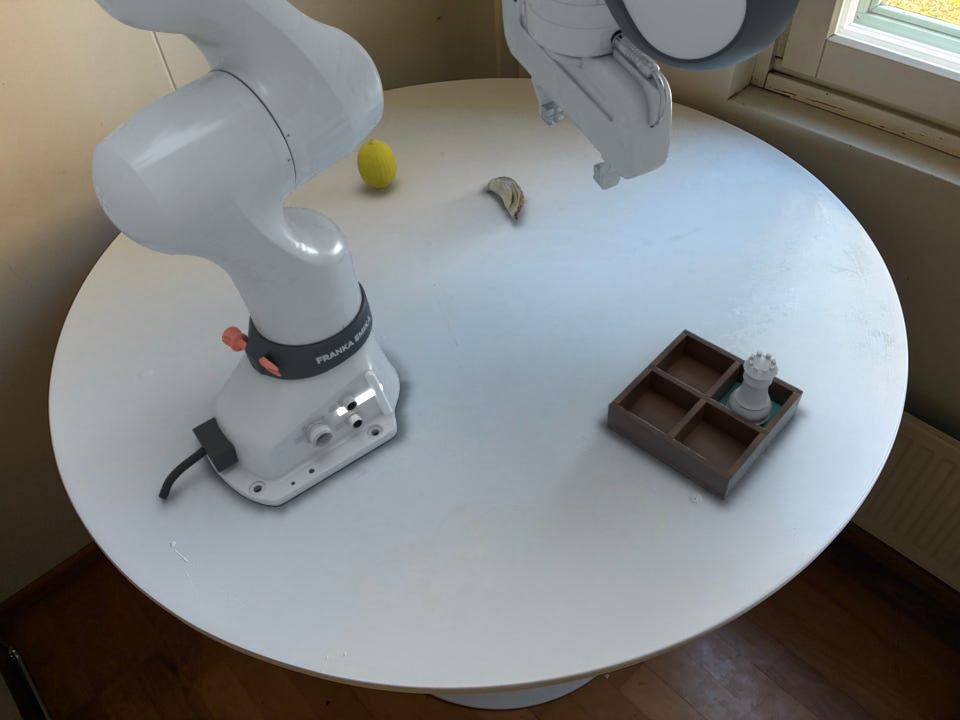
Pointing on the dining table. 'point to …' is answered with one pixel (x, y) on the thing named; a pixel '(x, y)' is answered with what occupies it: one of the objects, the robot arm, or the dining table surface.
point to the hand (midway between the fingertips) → (577, 149)
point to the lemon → (376, 163)
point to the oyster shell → (508, 193)
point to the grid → (698, 413)
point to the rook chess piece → (754, 389)
